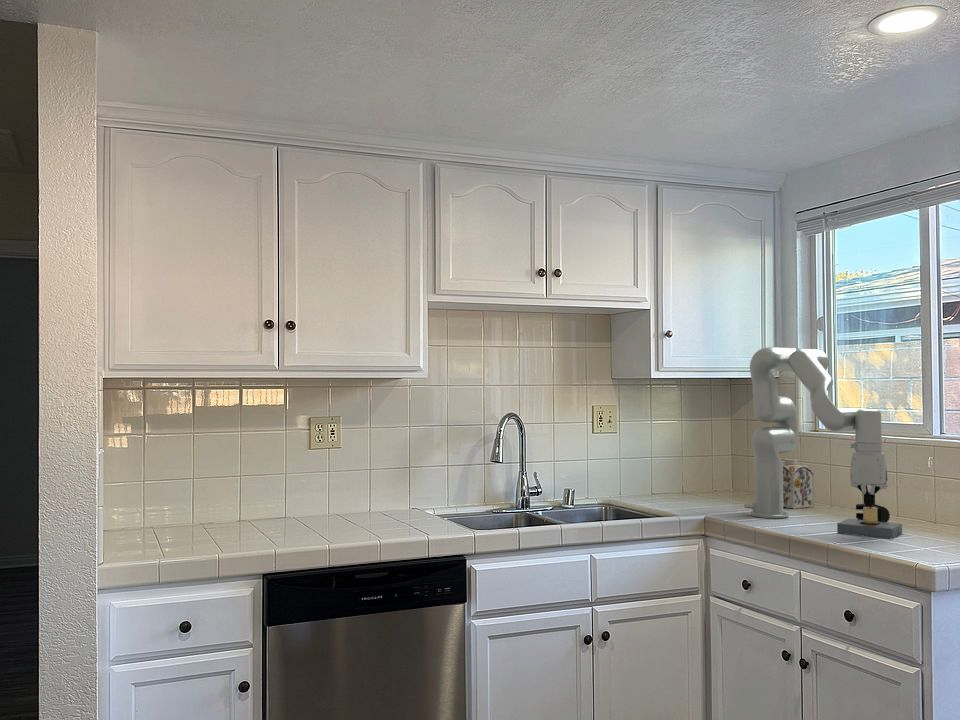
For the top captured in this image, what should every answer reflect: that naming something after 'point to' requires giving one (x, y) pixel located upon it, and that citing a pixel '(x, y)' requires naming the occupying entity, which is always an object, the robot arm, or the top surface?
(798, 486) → the decorative jar
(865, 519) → the beige cylinder
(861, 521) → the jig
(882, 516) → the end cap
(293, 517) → the top surface
